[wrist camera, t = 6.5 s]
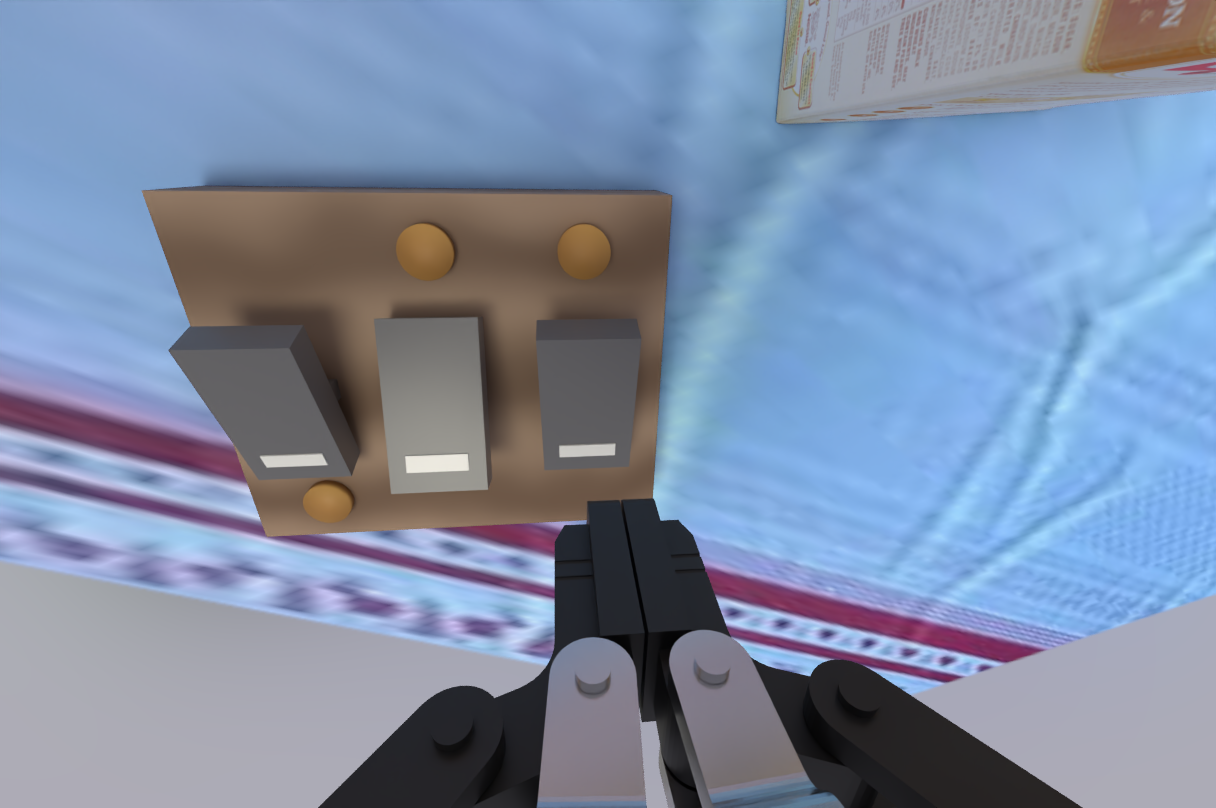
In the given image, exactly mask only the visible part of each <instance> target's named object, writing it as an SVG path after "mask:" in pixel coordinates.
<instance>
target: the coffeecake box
mask: <svg viewBox="0 0 1216 808" xmlns="http://www.w3.org/2000/svg"><path fill="white" fill-rule="evenodd" d="M1212 90H1216V0H787V8H786V27H785V36H784V45H783V55H782V65H781V73H780V83H779V94H778V105H777V117H776V122H777V123H780V124H799V123H825V122H849V121H872V120H890V119H908V118H925V117H942V116H955V115H970V114H986V113H1003V112H1020V111H1033V110H1045V109H1051V108H1055V107H1062V106H1070V105H1078V104H1087V103H1096V102H1105V101H1115V100H1124V99H1134V98H1145V97H1155V96H1166V95H1176V94H1186V93H1194V92H1203V91H1212Z"/></svg>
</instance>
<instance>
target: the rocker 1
mask: <svg viewBox="0 0 1216 808" xmlns="http://www.w3.org/2000/svg"><path fill="white" fill-rule="evenodd" d="M168 351H169V352H170V354H171V355H172V356H173V358H174V359H175V361H176V362H177V364H178V365H179V366H180V368H181V369H182V371H183V372H184V374H185V375H186V376H187V378H188V379H189V381H190V382H191V384H192V385H193V387H194V388H195V389H196V391H197V392H198V394H199V395H200V397H201V398H202V399H203V401H204V402H205V404H206V405H207V407H208V408H209V409H210V411H211V412H212V414H213V415H214V417H215V418H216V419H217V421H218V422H219V424H220V425H221V427H222V428H223V430H224V431H225V432H226V434H227V435H228V437H229V438H230V440H231V441H232V442H233V444H234V445H235V447H236V448H237V450H238V451H239V452H240V454H241V455H242V457H243V458H244V460H245V461H246V462H247V464H248V465H249V467H250V468H251V470H252V471H253V473H254V474H255V475H256V477H257V478H258V480H273V479H297V478H321V477H345V476H352V474H353V471H354V469H355V466H356V463H357V460H358V457H359V454H360V450H359V448H358V446H357V444H356V441H355V439H354V437H353V435H352V432H351V430H350V428H349V426H348V423H347V421H346V419H345V417H344V414H343V412H342V410H341V408H340V406H339V403H338V401H337V399H336V397H335V394H334V392H333V390H332V388H331V385H330V383H329V381H328V379H327V376H326V374H325V372H324V370H323V368H322V365H321V363H320V361H319V359H318V356H317V354H316V352H315V350H314V347H313V345H312V343H311V341H310V338H309V336H308V334H307V332H306V330H305V327H304V325H261V326H192V327H189V328H188V329H187V330H186V331H185V332H184V333H183V335H182V336H181V337H180V338H179V339H178V340H177V341H176V342H175V344H174V345H173V346H172V347H171V348H170V349H169V350H168Z"/></svg>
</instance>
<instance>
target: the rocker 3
mask: <svg viewBox="0 0 1216 808" xmlns="http://www.w3.org/2000/svg"><path fill="white" fill-rule="evenodd" d="M536 348H537V363H538V379H539V394H540V409H541V424H542V440H543V455H544V470H564V469H587V468H611V467H629V461H630V451H631V441H632V430H633V420H634V410H635V400H636V390H637V380H638V369H639V359H640V349H641V335H640V331H639V327H638V323H637V319H572V320H537V324H536Z"/></svg>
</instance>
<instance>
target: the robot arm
mask: <svg viewBox="0 0 1216 808" xmlns="http://www.w3.org/2000/svg"><path fill="white" fill-rule="evenodd" d="M699 554H700V553H699V550H698V548H697V545H696V542H695V540H694V537H693V535H692V534H691V533H690V532H689V531H688V530H687V529H686V528H685V527H684V526H683V525H682V524H681V523H680V522H679V520H667V521H660V518H659V514H658V511H657V507H656V504H655V501H654V499H653V498H646V499H623V500H621V502H620V501H619V500H602V501H587V524H583V525H564V527H563V529H562V531H561V532H560V534H559V536H558V537H557V539H556V541H555V644H554V651H553V654H552V657H551V659H550V661H549V663H548V665H547V666H546V668H545V669H544V670H543V671H542V672H541V674H540V675H539V676H538V677H536V678H535V679H534V680H533V681H531V682H530V683H528V684H527V685H525V686H523V687H521V688H519V689H516V690H514V691H511V692H509V693H506V694H504V695H501V696H499V697H496V698H494V697H493V696H491V694H489V693H488V692H486V691H485V690H483V689H480V688H477V687H473V686H458V687H452V688H449V689H446V690H443V691H441V692H440V693H437V694H436V695H434V696H433V697H431V698H430V699H428V700H427V701H426V702H425V703H424V704H422V705H421V706H420V707H419V708H418V709H417V710H416V711H415V712H414V713H413V714H412V715H411V716H410V717H409V718H408V719H407V720H406V721H405V722H404V723H403V724H402V725H401V726H400V727H399V728H398V729H397V730H396V731H395V732H394V733H393V734H392V735H391V736H390V737H389V738H388V739H387V740H386V741H385V742H384V743H383V744H382V745H381V746H380V747H379V748H378V749H377V750H376V751H375V752H374V753H373V754H372V755H371V756H370V757H369V758H368V759H367V760H366V761H365V762H364V763H363V764H362V765H361V766H360V767H359V768H358V769H357V770H356V771H355V772H354V773H353V774H352V775H351V776H350V777H349V778H348V779H347V780H346V781H345V782H344V783H343V784H342V785H341V786H340V787H339V788H338V789H337V790H336V791H335V792H334V793H333V794H332V795H331V796H329V798H327V799H326V800H325V801H324V803H322V804H321V805H320V806H319V807H318V808H647V806H646V795H645V782H644V769H643V757H642V743H641V730H640V716H639V707H640V713H641V720H642V722H649V721H656V723H657V729H658V734H659V740H660V751H659V769H660V774H661V778H662V783H663V786H664V791H665V795H666V799H667V803H668V807H669V808H1082V807H1080V806H1079V805H1078V804H1076V803H1075V802H1073V801H1072V800H1070V799H1068V798H1067V797H1065V796H1064V795H1062V794H1061V793H1059V792H1058V791H1056V790H1055V789H1053V788H1051V787H1050V786H1049V785H1047V784H1046V783H1044V782H1042V781H1041V780H1039V779H1038V778H1036V777H1035V776H1033V775H1032V774H1030V773H1029V772H1027V771H1026V770H1024V769H1023V768H1021V767H1019V766H1018V765H1016V764H1015V763H1013V762H1012V761H1010V760H1009V759H1007V758H1006V757H1004V756H1002V755H1001V754H1000V753H998V752H997V751H995V750H993V749H992V748H990V747H989V746H987V745H986V744H984V743H983V742H981V741H979V740H978V739H976V738H975V737H973V736H972V735H970V734H969V733H967V732H966V731H964V730H963V729H961V728H960V727H958V726H957V725H955V724H953V723H952V722H950V721H949V720H947V719H946V718H944V717H943V716H941V715H940V714H938V713H937V712H935V711H934V710H932V709H931V708H929V707H928V706H926V705H925V704H923V703H921V702H920V701H918V700H917V699H915V698H914V697H912V696H911V695H909V694H908V693H906V692H905V691H903V690H902V689H900V688H898V687H897V686H895V685H894V684H892V683H891V682H889V681H888V680H886V679H885V678H883V677H882V676H880V675H879V674H877V673H876V672H874V671H872V670H870V669H869V668H867V667H865V666H863V665H860V664H858V663H855V662H851V661H846V660H829V661H826V662H823V663H821V664H820V665H818V666H817V667H816V668H815V669H814V670H813V672H812V674H811V677H810V676H805V675H801V674H797V673H793V672H788V671H784V670H780V669H776V668H772V667H769V666H766V665H764V664H762V663H759V662H758V661H756V660H754V659H752V658H751V657H750V656H749V654H748V653H747V651H746V650H745V649H744V648H743V647H742V646H741V645H740V644H739V643H738V642H737V641H735V640H734V639H732V638H731V636H730V634H729V632H728V630H727V627H726V624H725V621H724V619H723V616H722V613H721V610H720V608H719V605H718V602H717V600H716V597H715V594H714V591H713V589H712V586H711V583H710V580H709V578H708V575H707V572H705V567H704V564H703V561H702V559H701V557H700V555H699Z"/></svg>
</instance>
